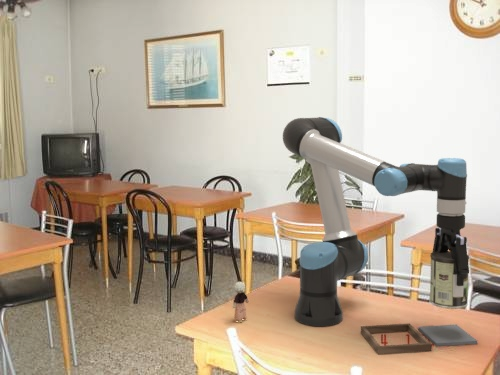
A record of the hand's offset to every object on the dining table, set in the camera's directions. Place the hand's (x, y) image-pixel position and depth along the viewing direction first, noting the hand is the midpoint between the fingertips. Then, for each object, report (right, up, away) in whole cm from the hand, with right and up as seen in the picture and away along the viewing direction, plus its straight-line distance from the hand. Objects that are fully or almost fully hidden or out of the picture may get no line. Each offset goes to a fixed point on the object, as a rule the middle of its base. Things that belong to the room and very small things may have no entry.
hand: (448, 290), depth 154 cm
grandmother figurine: (-60, -13, +16) cm, 63 cm away
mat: (0, -14, +2) cm, 14 cm away
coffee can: (0, -4, +1) cm, 4 cm away
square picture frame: (-16, -14, -1) cm, 21 cm away
